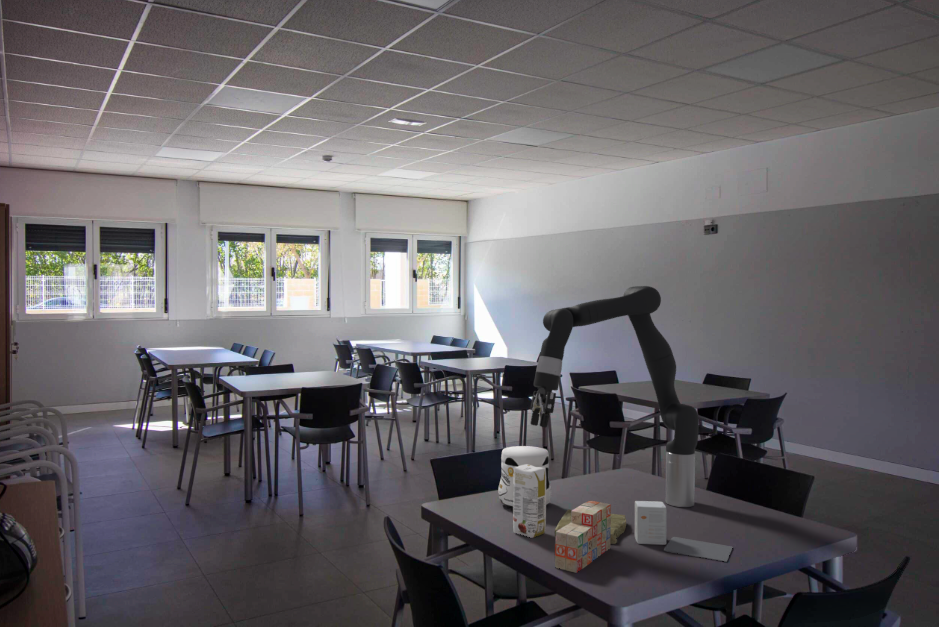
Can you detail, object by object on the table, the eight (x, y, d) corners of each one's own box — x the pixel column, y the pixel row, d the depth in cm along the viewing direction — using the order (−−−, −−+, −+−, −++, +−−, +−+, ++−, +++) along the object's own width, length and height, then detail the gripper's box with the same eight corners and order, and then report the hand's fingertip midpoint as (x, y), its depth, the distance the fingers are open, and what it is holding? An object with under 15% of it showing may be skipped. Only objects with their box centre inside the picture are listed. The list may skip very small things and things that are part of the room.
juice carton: (533, 540, 188) (533, 472, 188) (509, 532, 194) (509, 467, 193) (549, 533, 193) (549, 467, 193) (525, 526, 199) (525, 462, 199)
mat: (672, 537, 191) (672, 536, 191) (732, 547, 183) (732, 546, 183) (663, 551, 180) (663, 549, 180) (726, 562, 173) (726, 561, 173)
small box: (662, 538, 190) (663, 501, 190) (666, 545, 185) (667, 507, 185) (634, 537, 191) (634, 500, 191) (636, 544, 186) (637, 506, 185)
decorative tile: (553, 538, 191) (553, 526, 191) (567, 517, 209) (567, 506, 209) (620, 547, 184) (620, 534, 184) (628, 524, 203) (628, 513, 203)
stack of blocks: (577, 574, 165) (577, 524, 165) (554, 568, 168) (554, 519, 168) (610, 548, 182) (611, 503, 182) (589, 543, 186) (589, 499, 186)
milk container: (487, 504, 221) (487, 450, 221) (523, 495, 233) (523, 443, 232) (526, 517, 208) (526, 459, 208) (562, 506, 220) (562, 451, 220)
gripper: (568, 375, 198) (558, 430, 195) (551, 375, 212) (542, 427, 209) (544, 370, 196) (534, 425, 194) (529, 370, 210) (519, 422, 208)
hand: (538, 426), depth 202 cm, fingers open, 8 cm apart
